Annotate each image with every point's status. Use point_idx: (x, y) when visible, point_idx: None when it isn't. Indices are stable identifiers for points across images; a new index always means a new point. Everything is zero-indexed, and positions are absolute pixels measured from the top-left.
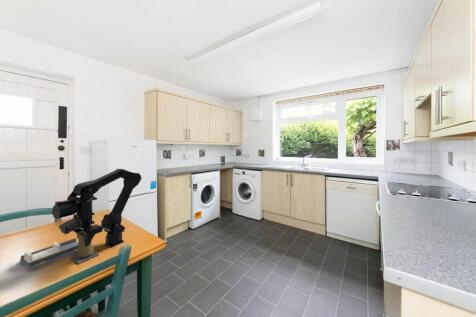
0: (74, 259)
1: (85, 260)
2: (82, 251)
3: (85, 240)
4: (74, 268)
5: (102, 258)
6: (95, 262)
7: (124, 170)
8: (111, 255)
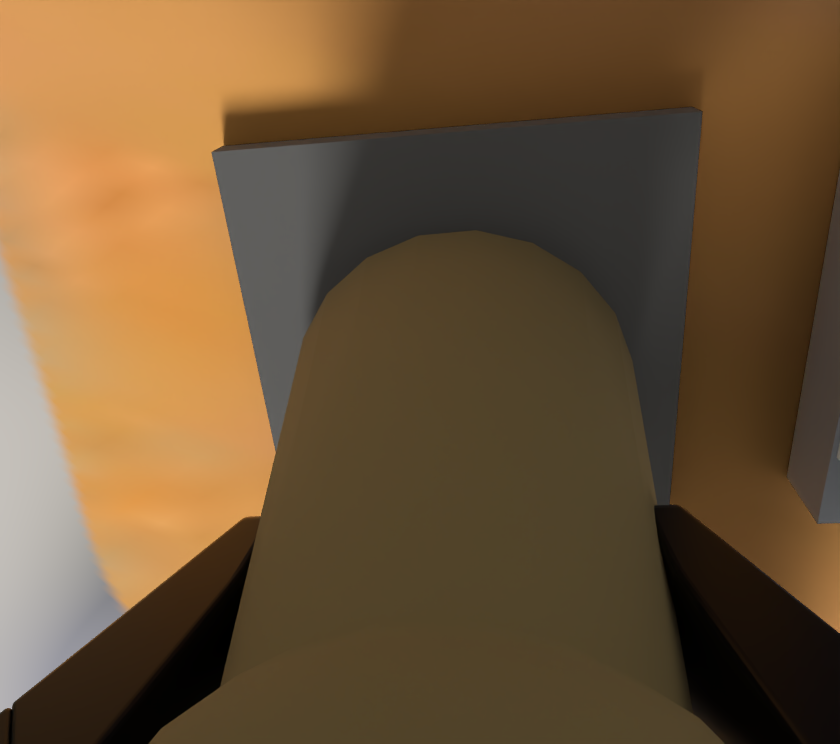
0: (473, 154)
1: (247, 291)
2: (318, 360)
3: (15, 717)
4: (92, 24)
5: (127, 494)
6: (58, 374)
7: None
8: (127, 604)
